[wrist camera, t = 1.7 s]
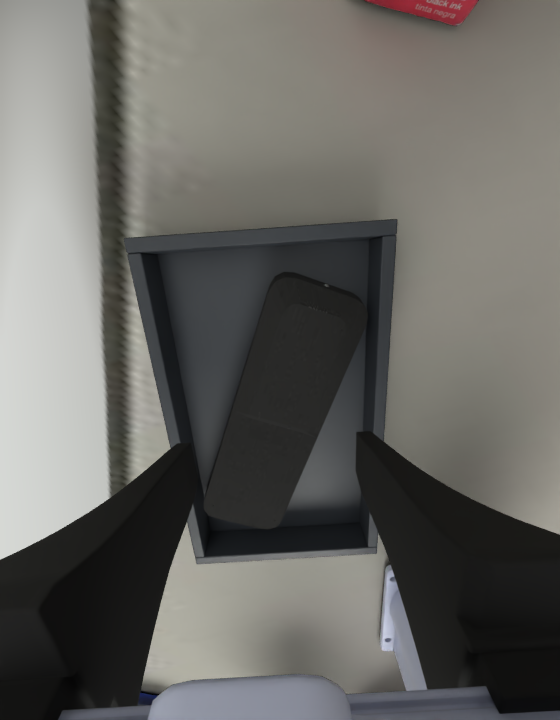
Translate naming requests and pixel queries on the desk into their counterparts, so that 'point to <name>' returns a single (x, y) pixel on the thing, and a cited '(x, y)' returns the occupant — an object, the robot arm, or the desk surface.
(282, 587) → the desk surface
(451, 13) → the ink box
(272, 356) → the remote control
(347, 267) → the desk tray
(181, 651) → the desk surface
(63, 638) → the robot arm
